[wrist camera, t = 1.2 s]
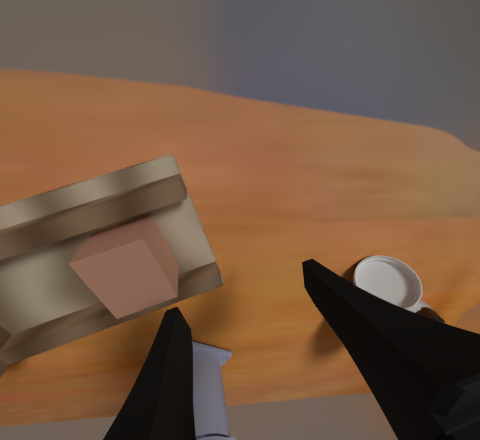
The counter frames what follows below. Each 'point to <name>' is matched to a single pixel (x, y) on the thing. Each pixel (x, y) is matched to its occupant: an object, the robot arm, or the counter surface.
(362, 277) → the spread jar
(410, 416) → the robot arm
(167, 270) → the block
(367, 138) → the counter surface
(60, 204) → the channel
